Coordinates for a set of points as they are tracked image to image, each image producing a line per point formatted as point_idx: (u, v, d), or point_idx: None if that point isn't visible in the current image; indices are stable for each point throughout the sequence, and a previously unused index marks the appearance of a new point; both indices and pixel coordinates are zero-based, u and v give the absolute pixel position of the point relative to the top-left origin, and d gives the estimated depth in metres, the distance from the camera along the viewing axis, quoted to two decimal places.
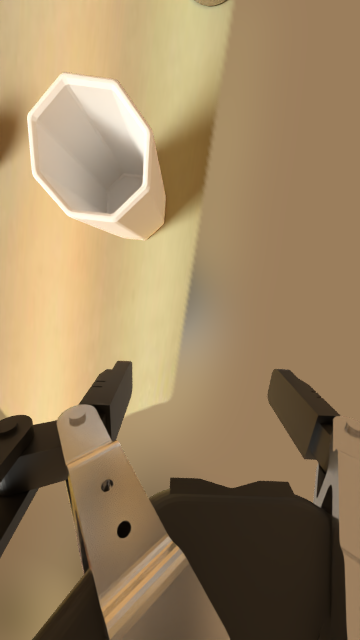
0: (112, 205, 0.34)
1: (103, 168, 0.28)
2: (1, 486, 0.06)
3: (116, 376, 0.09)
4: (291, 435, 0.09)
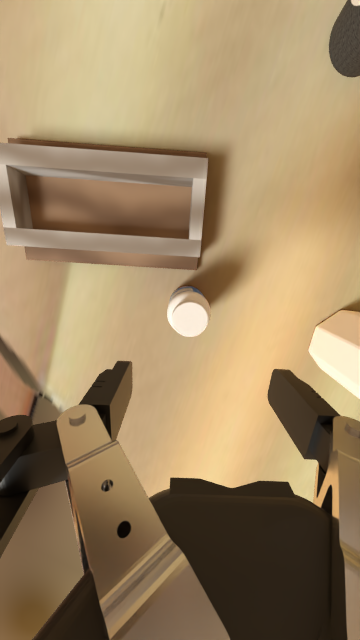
0: None
1: None
2: (1, 486, 0.06)
3: (116, 376, 0.09)
4: (291, 435, 0.09)
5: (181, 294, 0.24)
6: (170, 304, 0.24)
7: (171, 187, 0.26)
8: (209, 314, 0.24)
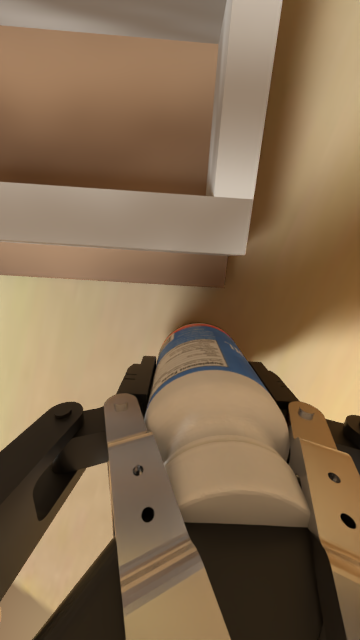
0: None
1: None
2: (54, 463, 0.07)
3: (146, 369, 0.10)
4: None
5: (190, 391, 0.06)
6: (150, 423, 0.07)
7: (157, 44, 0.08)
8: (287, 454, 0.07)
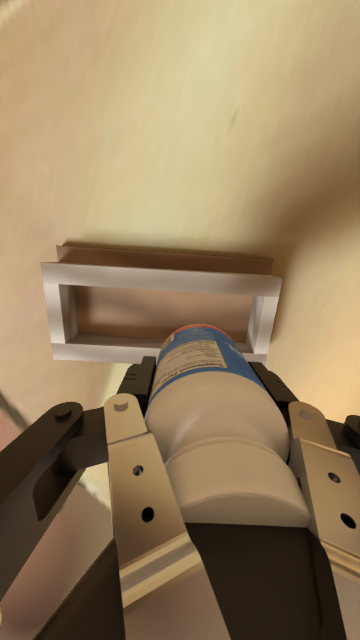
0: None
1: None
2: (54, 463, 0.07)
3: (146, 369, 0.10)
4: None
5: (189, 393, 0.06)
6: (150, 425, 0.07)
7: None
8: (287, 456, 0.07)
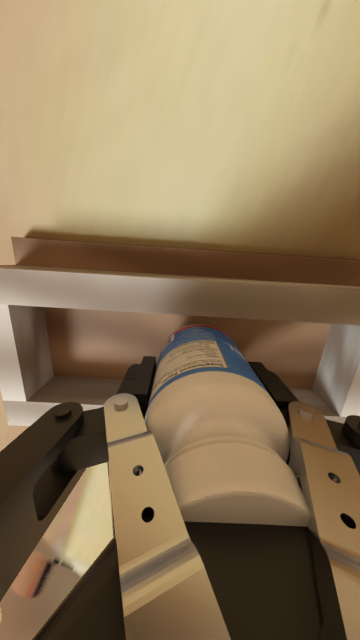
0: None
1: None
2: (54, 463, 0.07)
3: (146, 369, 0.10)
4: None
5: (190, 393, 0.06)
6: (150, 424, 0.07)
7: None
8: (287, 455, 0.07)
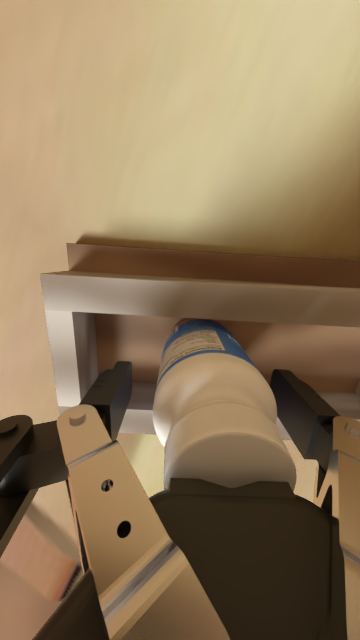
0: None
1: None
2: (1, 486, 0.06)
3: (116, 376, 0.09)
4: (291, 435, 0.09)
5: (194, 369, 0.08)
6: (161, 396, 0.08)
7: None
8: (274, 422, 0.08)
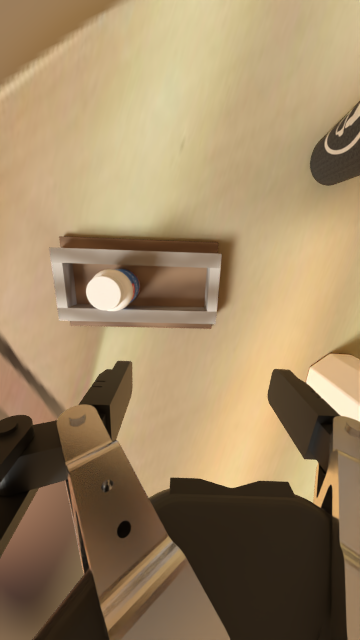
0: None
1: None
2: (1, 486, 0.06)
3: (116, 376, 0.09)
4: (291, 435, 0.09)
5: (100, 271, 0.25)
6: None
7: (190, 268, 0.32)
8: (129, 290, 0.25)
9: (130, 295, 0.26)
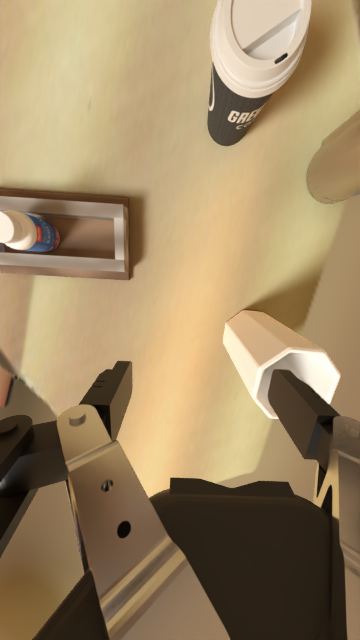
0: None
1: None
2: (1, 486, 0.06)
3: (116, 376, 0.09)
4: (291, 435, 0.09)
5: (4, 211, 0.29)
6: None
7: (104, 221, 0.35)
8: (30, 229, 0.29)
9: (32, 234, 0.29)
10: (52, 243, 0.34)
